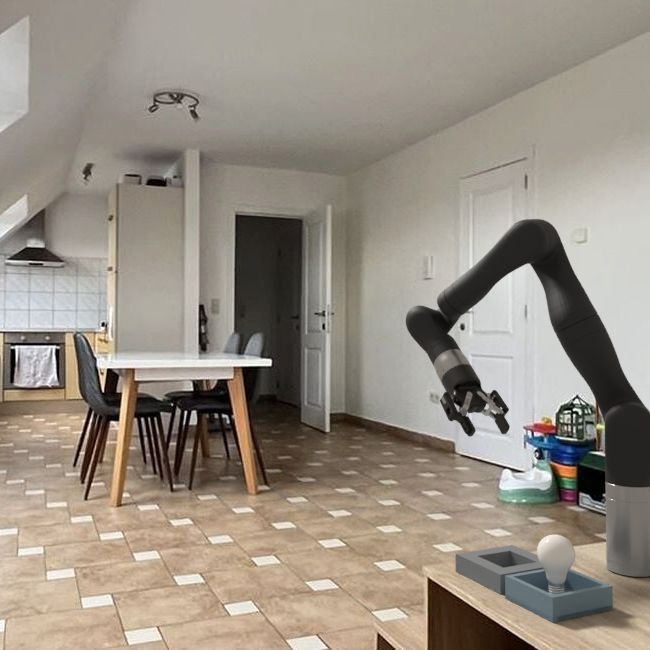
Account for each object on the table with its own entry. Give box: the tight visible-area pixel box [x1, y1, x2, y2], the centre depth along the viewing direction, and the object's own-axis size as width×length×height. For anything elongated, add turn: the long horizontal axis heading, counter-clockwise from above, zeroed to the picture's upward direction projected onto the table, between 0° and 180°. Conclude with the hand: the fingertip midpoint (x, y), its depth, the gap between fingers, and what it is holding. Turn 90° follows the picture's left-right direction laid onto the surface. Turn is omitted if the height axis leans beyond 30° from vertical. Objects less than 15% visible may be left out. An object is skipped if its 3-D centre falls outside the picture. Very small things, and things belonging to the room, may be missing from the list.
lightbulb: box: [536, 534, 576, 595], centre depth 125 cm, size 6×6×11 cm
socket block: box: [455, 544, 544, 595], centre depth 138 cm, size 14×14×4 cm
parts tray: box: [504, 568, 614, 623], centre depth 124 cm, size 13×12×4 cm
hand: (489, 432), depth 147 cm, fingers open, 8 cm apart
